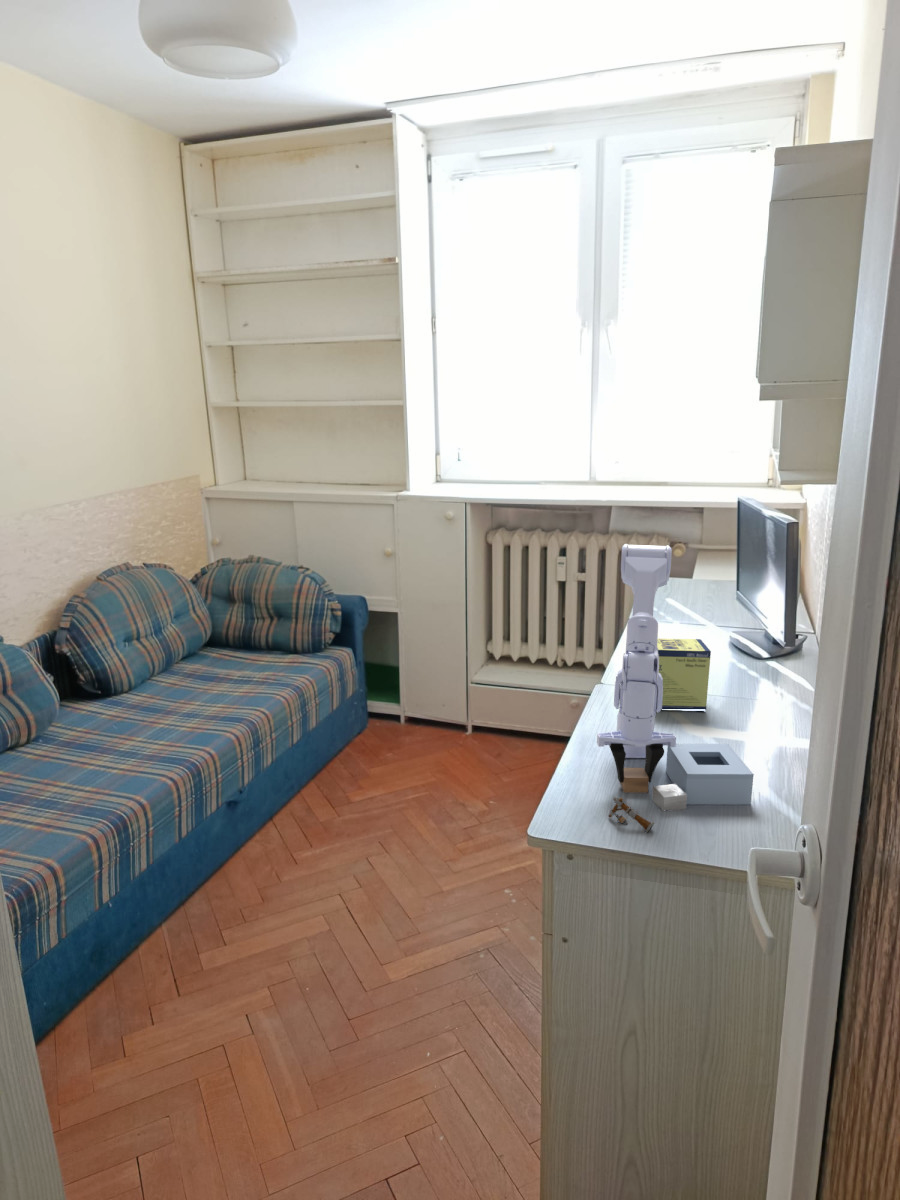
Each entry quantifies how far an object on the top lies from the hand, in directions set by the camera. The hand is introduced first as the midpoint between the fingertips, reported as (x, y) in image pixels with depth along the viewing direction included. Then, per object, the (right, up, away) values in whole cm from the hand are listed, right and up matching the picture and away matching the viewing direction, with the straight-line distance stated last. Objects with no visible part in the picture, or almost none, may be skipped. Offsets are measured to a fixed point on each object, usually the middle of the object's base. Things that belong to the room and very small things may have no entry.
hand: (633, 780), depth 156 cm
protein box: (+19, +9, +45) cm, 50 cm away
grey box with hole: (+14, -1, 0) cm, 14 cm away
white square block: (+5, -3, -6) cm, 9 cm away
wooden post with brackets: (-4, -5, -14) cm, 16 cm away
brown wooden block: (0, -1, 0) cm, 1 cm away
